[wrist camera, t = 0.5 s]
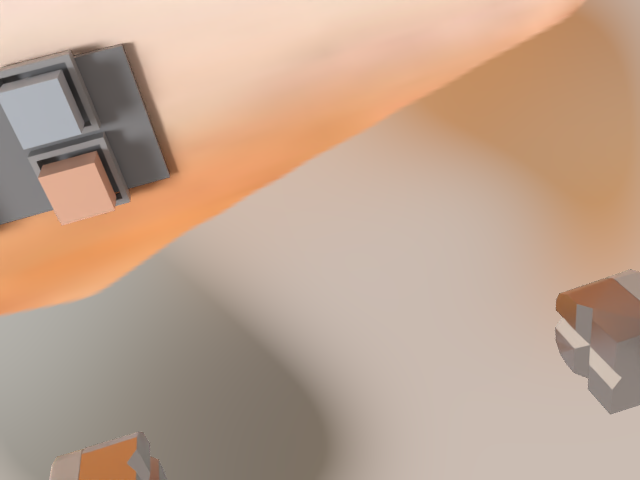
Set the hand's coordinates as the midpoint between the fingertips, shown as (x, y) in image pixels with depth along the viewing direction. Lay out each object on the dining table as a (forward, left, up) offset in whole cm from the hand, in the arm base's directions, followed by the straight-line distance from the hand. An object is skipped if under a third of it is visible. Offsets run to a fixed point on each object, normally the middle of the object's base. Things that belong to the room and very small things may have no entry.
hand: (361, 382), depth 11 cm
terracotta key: (+11, -14, -42) cm, 46 cm away
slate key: (+4, -14, -42) cm, 45 cm away
